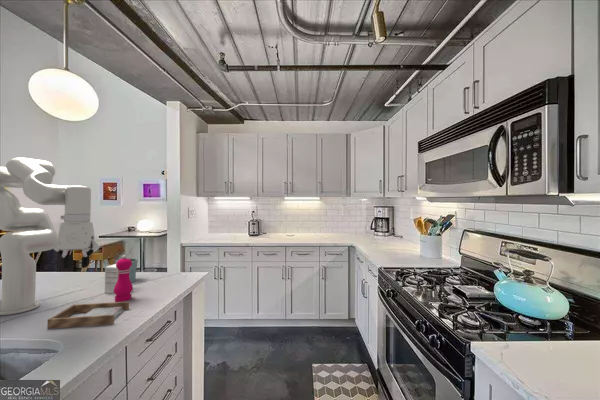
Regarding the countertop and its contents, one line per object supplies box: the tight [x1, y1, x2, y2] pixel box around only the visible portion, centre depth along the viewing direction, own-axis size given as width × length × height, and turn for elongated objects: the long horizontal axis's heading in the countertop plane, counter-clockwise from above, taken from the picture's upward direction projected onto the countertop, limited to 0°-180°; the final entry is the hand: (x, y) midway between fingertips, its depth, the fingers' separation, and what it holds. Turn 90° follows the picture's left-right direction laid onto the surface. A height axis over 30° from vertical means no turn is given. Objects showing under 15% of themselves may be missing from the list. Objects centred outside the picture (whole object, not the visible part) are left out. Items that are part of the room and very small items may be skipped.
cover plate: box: [81, 307, 123, 320], centre depth 101 cm, size 10×9×2 cm
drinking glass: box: [115, 257, 139, 284], centre depth 146 cm, size 10×10×12 cm
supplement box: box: [104, 263, 118, 294], centre depth 131 cm, size 7×7×13 cm
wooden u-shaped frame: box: [46, 301, 130, 329], centre depth 100 cm, size 20×14×3 cm
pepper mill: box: [113, 254, 134, 302], centre depth 120 cm, size 7×7×20 cm
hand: (76, 266), depth 99 cm, fingers open, 4 cm apart
